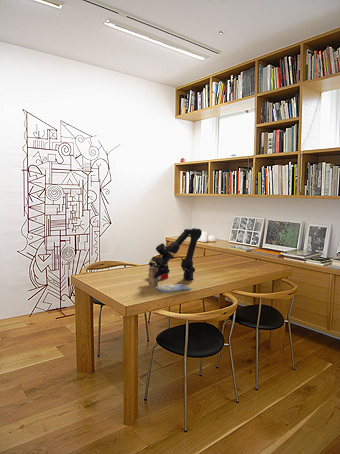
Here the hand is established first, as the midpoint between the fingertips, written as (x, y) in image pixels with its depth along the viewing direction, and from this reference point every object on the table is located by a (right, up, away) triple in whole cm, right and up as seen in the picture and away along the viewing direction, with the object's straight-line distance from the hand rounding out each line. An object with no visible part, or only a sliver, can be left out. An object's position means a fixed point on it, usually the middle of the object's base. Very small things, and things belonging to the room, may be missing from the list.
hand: (151, 277), depth 231 cm
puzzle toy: (+4, -5, +26) cm, 27 cm away
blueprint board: (+15, -7, -4) cm, 17 cm away
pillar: (+1, -7, +1) cm, 7 cm away
